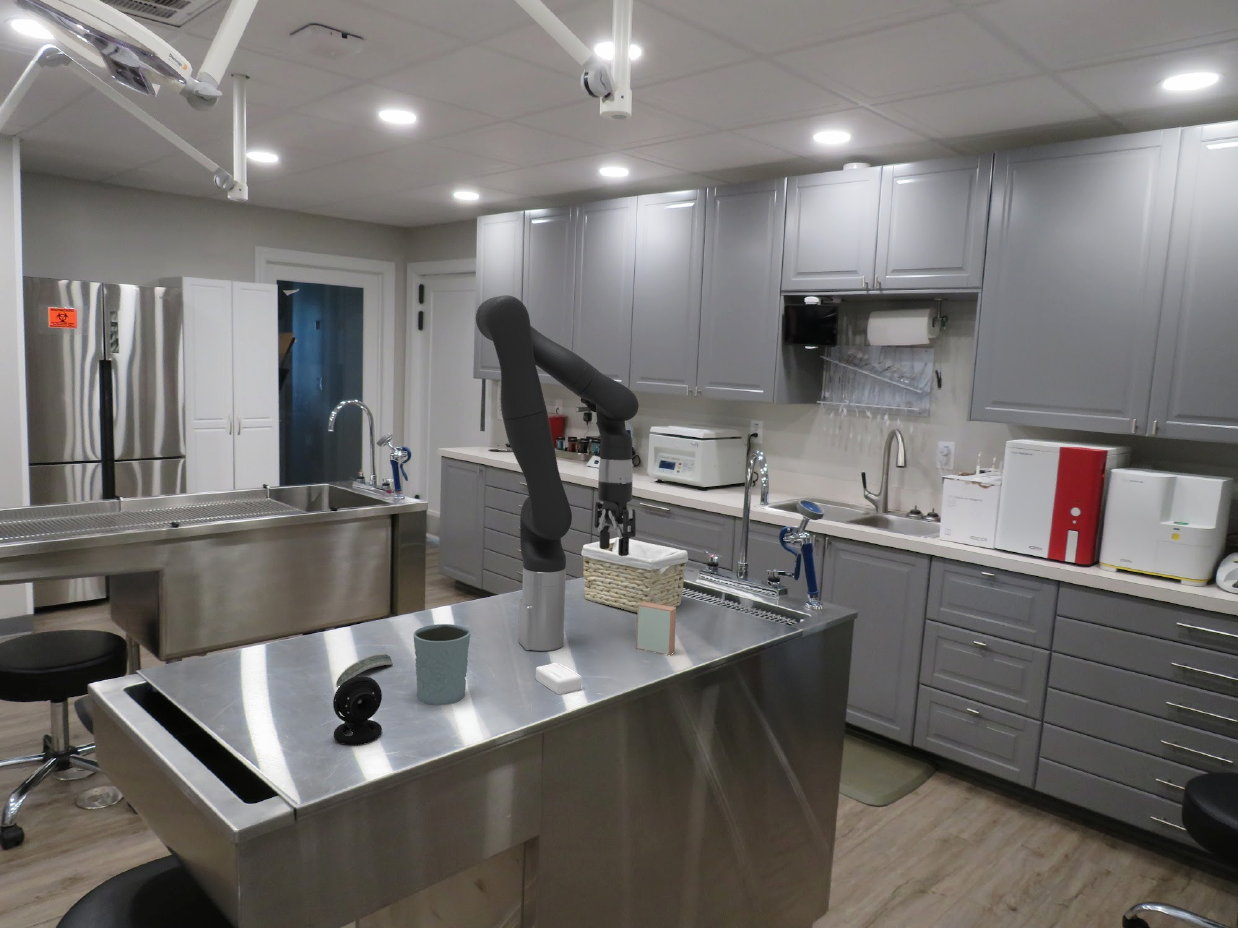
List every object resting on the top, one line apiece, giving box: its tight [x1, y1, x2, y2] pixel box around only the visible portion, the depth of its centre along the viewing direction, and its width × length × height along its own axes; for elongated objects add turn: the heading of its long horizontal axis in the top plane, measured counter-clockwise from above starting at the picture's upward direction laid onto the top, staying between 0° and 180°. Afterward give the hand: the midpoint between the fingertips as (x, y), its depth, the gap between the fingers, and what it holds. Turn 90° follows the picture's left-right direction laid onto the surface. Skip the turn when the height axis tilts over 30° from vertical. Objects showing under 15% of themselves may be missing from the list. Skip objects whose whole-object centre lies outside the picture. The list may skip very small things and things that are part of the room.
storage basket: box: [581, 536, 689, 613], centre depth 214 cm, size 24×16×15 cm
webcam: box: [332, 675, 383, 746], centre depth 135 cm, size 8×8×10 cm
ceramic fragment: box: [336, 653, 393, 688], centre depth 161 cm, size 14×5×4 cm, turn 147°
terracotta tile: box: [635, 602, 677, 656], centre depth 179 cm, size 3×8×10 cm, turn 64°
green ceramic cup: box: [413, 623, 471, 706], centre depth 152 cm, size 10×10×12 cm
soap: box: [535, 662, 583, 695], centre depth 159 cm, size 9×6×3 cm, turn 36°
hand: (613, 551), depth 184 cm, fingers open, 8 cm apart
